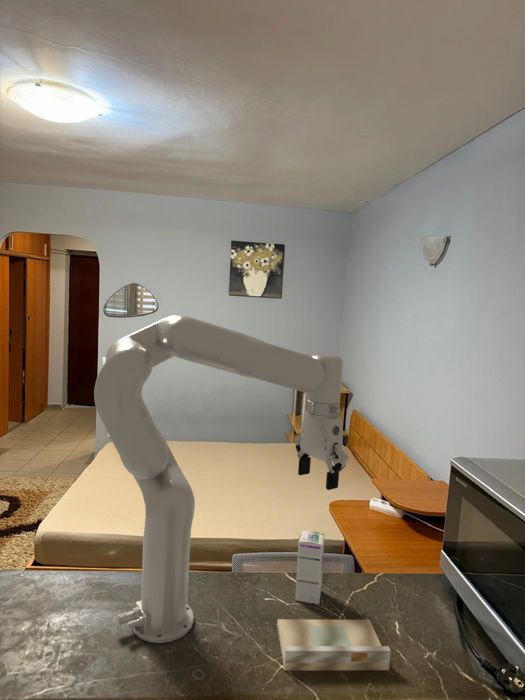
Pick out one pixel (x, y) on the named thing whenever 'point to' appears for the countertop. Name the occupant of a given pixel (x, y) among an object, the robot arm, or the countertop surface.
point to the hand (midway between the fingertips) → (317, 481)
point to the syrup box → (309, 567)
